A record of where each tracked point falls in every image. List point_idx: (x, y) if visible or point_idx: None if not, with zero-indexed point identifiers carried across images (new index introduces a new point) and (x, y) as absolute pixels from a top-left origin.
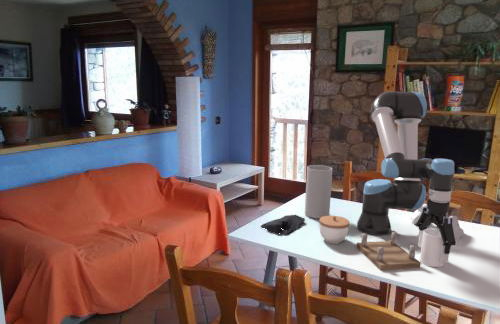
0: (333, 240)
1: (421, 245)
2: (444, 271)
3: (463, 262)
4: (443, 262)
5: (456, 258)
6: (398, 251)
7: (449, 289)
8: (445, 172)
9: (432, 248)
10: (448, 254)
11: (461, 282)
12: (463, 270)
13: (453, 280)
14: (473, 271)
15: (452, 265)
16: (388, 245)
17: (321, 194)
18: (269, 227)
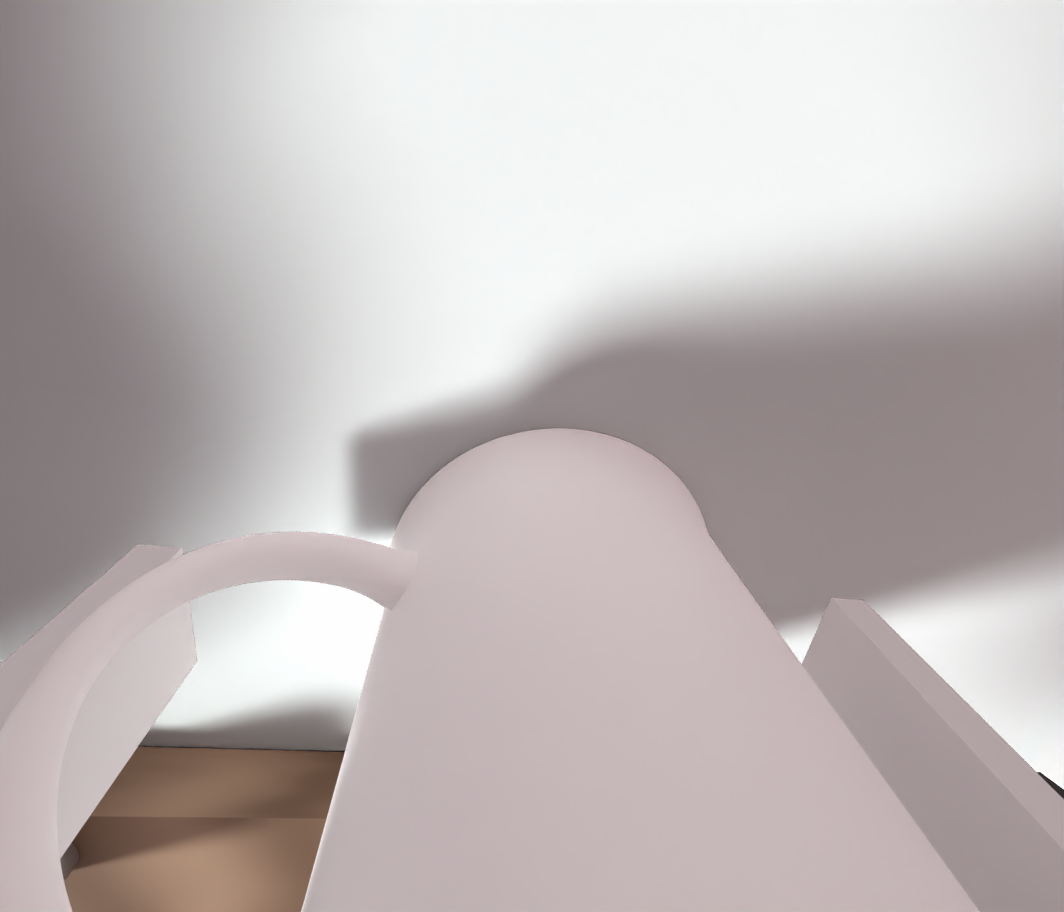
0: None
1: (181, 635)
2: (807, 587)
3: (753, 23)
4: (678, 488)
5: (566, 6)
6: (294, 885)
7: (1037, 757)
8: None
9: None
10: (959, 706)
11: (1058, 586)
12: (927, 319)
13: (982, 631)
14: (1041, 175)
15: (744, 357)
16: (86, 908)
17: None
18: None
